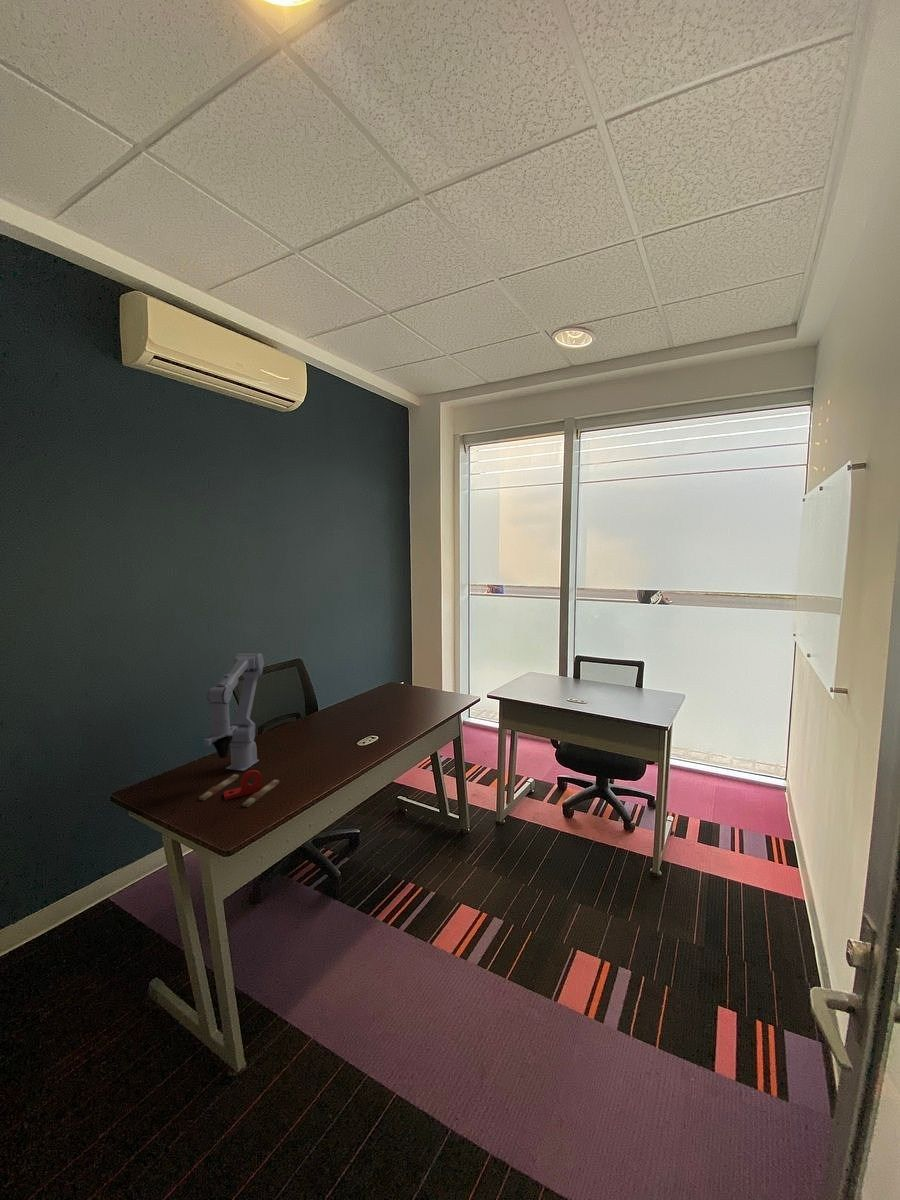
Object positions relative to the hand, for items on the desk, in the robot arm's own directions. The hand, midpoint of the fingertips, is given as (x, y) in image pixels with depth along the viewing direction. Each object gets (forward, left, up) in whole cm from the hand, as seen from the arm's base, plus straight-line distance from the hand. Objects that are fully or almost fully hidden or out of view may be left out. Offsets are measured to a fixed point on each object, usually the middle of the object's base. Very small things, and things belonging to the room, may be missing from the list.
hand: (222, 757), depth 174 cm
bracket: (+5, +12, -10) cm, 16 cm away
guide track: (+4, +10, -9) cm, 14 cm away
